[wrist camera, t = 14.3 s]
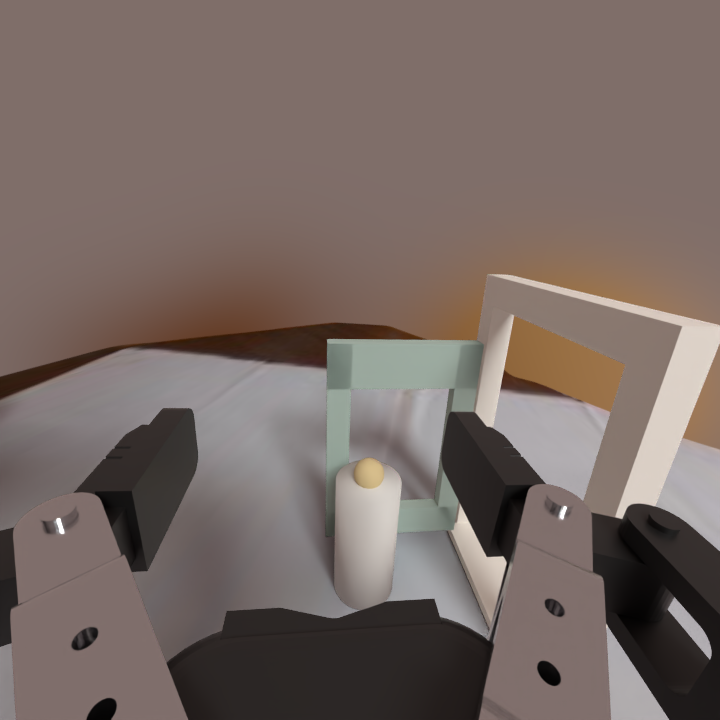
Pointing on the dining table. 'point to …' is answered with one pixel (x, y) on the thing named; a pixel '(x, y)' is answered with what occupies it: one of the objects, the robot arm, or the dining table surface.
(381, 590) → the white candle
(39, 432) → the dining table surface
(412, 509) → the grey-green rectangular frame
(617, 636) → the robot arm
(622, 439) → the door frame
